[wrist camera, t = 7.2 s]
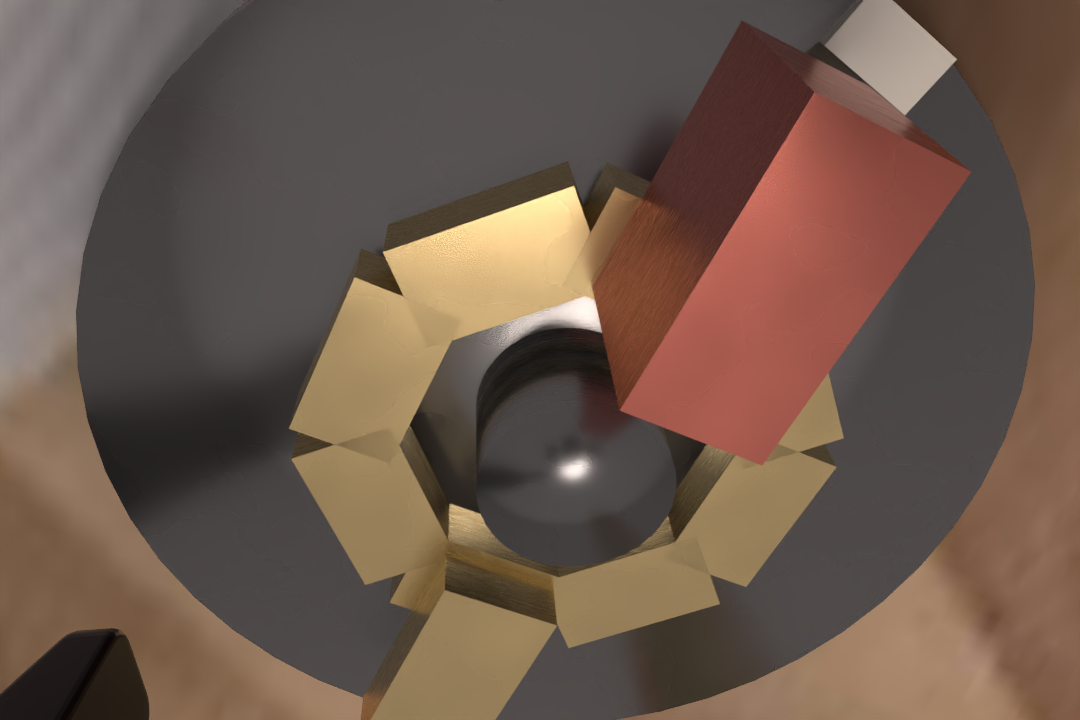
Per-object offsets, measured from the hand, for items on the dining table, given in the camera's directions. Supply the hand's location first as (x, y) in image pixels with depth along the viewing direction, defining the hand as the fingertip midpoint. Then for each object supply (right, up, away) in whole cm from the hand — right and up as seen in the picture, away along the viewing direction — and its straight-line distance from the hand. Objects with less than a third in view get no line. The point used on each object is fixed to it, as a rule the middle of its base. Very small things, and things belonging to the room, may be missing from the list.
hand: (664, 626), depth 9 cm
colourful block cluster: (0, +1, +12) cm, 12 cm away
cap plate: (-1, +2, +13) cm, 13 cm away
